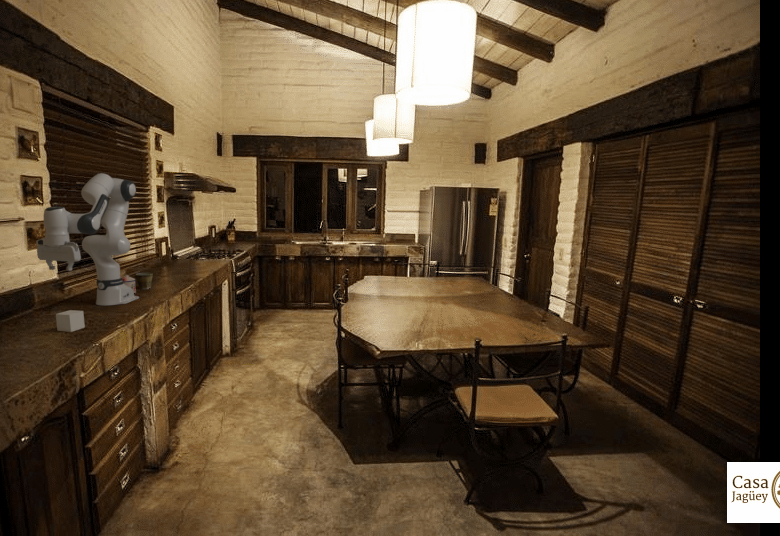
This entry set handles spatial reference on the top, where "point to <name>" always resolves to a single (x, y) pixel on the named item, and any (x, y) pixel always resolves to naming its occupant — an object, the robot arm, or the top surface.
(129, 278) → the teacup with lid
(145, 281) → the ceramic cup
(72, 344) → the top surface
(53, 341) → the top surface
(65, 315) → the grey matte cube
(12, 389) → the top surface
